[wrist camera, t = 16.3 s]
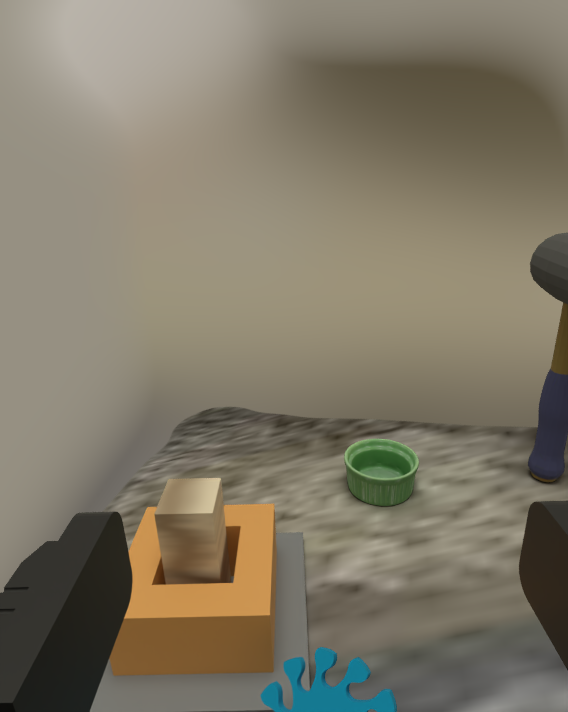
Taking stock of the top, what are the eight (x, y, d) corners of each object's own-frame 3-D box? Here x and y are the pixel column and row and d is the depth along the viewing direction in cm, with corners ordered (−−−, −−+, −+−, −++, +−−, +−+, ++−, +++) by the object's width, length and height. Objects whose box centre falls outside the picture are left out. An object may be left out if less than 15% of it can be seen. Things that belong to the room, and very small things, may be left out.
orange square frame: (302, 539, 51) (301, 485, 48) (310, 718, 34) (309, 650, 32) (138, 543, 51) (128, 490, 49) (65, 723, 34) (44, 655, 32)
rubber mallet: (497, 449, 66) (529, 229, 55) (554, 451, 65) (597, 228, 54) (531, 507, 54) (579, 244, 44) (600, 510, 53) (666, 242, 43)
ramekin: (334, 500, 57) (334, 469, 56) (355, 461, 65) (355, 433, 63) (409, 518, 54) (411, 486, 52) (421, 474, 61) (424, 445, 60)
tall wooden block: (231, 584, 44) (220, 477, 40) (225, 627, 40) (212, 513, 36) (184, 585, 44) (168, 479, 40) (173, 628, 40) (154, 514, 36)
